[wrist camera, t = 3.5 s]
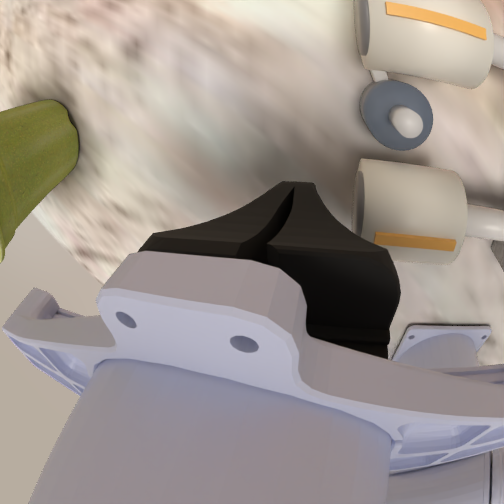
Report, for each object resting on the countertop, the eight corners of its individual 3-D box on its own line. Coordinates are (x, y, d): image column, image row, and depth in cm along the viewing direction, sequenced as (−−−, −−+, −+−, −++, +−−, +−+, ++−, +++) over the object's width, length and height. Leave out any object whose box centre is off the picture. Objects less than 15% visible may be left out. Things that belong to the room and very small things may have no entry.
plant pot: (96, 212, 19) (17, 291, 12) (23, 175, 19) (-47, 231, 12) (106, 87, 13) (-23, 141, 6) (22, 73, 13) (-72, 115, 6)
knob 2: (513, 242, 11) (543, 292, 8) (349, 224, 14) (352, 281, 11) (534, 179, 9) (576, 222, 6) (355, 146, 11) (366, 184, 8)
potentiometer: (423, 130, 11) (451, 154, 8) (370, 142, 12) (383, 169, 9) (401, 57, 9) (427, 56, 6) (344, 70, 10) (351, 72, 7)
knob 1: (545, 118, 7) (595, 148, 4) (356, 68, 9) (370, 69, 6) (547, 47, 4) (599, 59, 1) (349, -17, 7) (358, -51, 4)
